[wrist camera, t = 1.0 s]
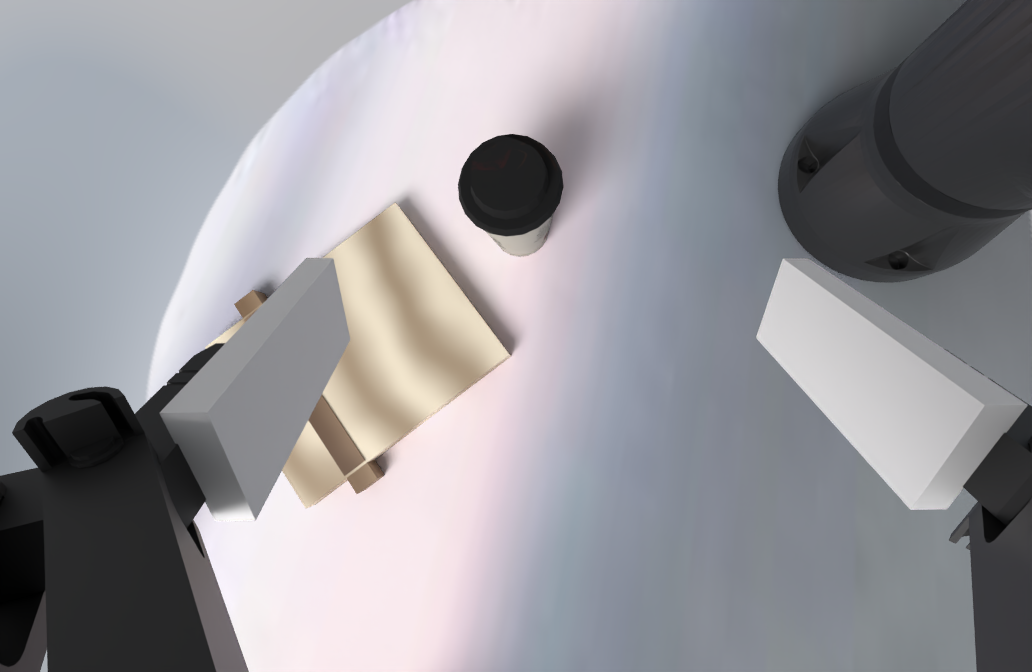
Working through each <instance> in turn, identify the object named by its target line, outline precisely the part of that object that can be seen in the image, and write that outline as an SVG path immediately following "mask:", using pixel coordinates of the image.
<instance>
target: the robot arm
mask: <svg viewBox="0 0 1032 672" xmlns="http://www.w3.org/2000/svg"><path fill="white" fill-rule="evenodd" d="M778 193H779V201H780V205H781V209H782V212H783V215H784V218H785V220H786V223H787V225H788V226H789V228H790V230H791V232H792V233H793V235H794V236H795V238H796V239H797V240H798V242H799V243H800V244H801V245H802V246H803V247H804V248H805V249H806V250H807V251H808V252H809V253H810V254H811V255H812V256H813V257H815V258H816V259H817V260H818V261H820V262H821V263H823V264H824V265H826V266H828V267H829V268H831V269H833V270H835V271H837V272H839V273H842V274H844V275H847V276H850V277H853V278H857V279H861V280H866V281H873V282H900V281H907V280H912V279H916V278H919V277H922V276H925V275H929V274H932V273H935V272H938V271H941V270H944V269H947V268H949V267H952V266H954V265H956V264H958V263H960V262H961V261H963V260H965V259H967V258H968V257H970V256H972V255H973V254H974V253H976V252H977V251H978V250H980V249H981V248H982V247H983V246H985V245H986V244H987V243H988V242H989V241H991V240H992V239H993V238H994V237H996V236H997V235H998V234H999V233H1000V232H1002V231H1003V230H1004V229H1005V228H1007V227H1008V226H1009V225H1010V224H1011V223H1013V222H1014V221H1015V220H1016V219H1018V218H1019V217H1020V216H1021V215H1022V214H1024V213H1025V212H1026V211H1029V210H1031V209H1032V0H967V1H966V2H965V3H964V4H963V5H962V6H961V7H960V8H959V9H958V10H957V11H956V12H955V13H954V14H952V15H951V16H950V17H949V18H948V19H947V20H946V21H945V22H944V23H943V24H942V25H941V26H940V27H939V28H938V29H937V30H936V31H935V32H933V33H932V34H931V35H930V36H929V37H928V38H927V39H926V40H925V41H924V42H923V43H922V44H921V45H920V46H919V47H918V48H916V49H915V51H914V52H913V53H912V54H911V55H910V56H909V57H908V58H906V59H905V60H904V61H903V62H902V63H901V64H900V65H899V66H898V67H896V68H894V69H892V70H890V71H888V72H886V73H884V74H882V75H880V76H878V77H876V78H874V79H872V80H870V81H868V82H866V83H863V84H861V85H859V86H857V87H855V88H853V89H851V90H849V91H847V92H845V93H843V94H841V95H840V96H838V97H836V98H835V99H833V100H832V101H830V102H829V103H828V104H826V105H825V106H824V107H823V108H821V109H820V110H819V111H818V112H817V113H816V114H815V115H814V116H813V117H812V118H811V119H810V120H809V121H808V122H807V123H806V124H805V126H804V127H803V128H802V129H801V130H800V131H799V132H798V133H797V135H796V136H795V137H794V138H793V140H792V142H791V143H790V145H789V147H788V148H787V150H786V152H785V155H784V157H783V160H782V163H781V167H780V172H779V179H778ZM756 338H757V339H758V340H759V342H760V343H761V344H762V345H763V346H764V347H765V348H766V349H767V350H768V352H769V353H770V354H771V355H772V356H773V357H774V358H775V359H776V360H777V362H778V363H779V364H780V365H781V366H782V367H783V368H784V369H785V371H786V372H787V373H788V374H789V375H790V376H791V377H792V378H793V379H794V381H795V382H796V383H797V384H798V385H799V386H800V387H801V388H802V389H803V391H804V392H805V393H806V394H807V395H808V396H809V397H810V398H811V399H812V401H813V402H814V403H815V404H816V405H817V406H818V407H819V408H820V409H821V411H822V412H823V413H824V414H825V415H826V416H827V417H828V418H829V419H830V421H831V422H832V423H833V424H834V425H835V426H836V427H837V428H838V430H839V431H840V432H841V433H842V434H843V435H844V436H845V437H846V438H847V440H848V441H849V442H850V443H851V444H852V445H853V446H854V447H855V448H856V450H857V451H858V452H859V453H860V454H861V455H862V456H863V457H864V458H865V460H866V461H867V462H868V463H869V464H870V465H871V466H872V467H873V468H874V470H875V471H876V472H877V473H878V474H879V475H880V476H881V477H882V478H883V480H884V481H885V482H886V483H887V484H888V485H889V486H890V487H891V489H892V490H893V491H894V492H895V493H896V494H897V495H898V496H899V497H900V499H901V500H902V501H903V502H904V503H905V504H906V505H907V506H908V507H909V509H910V510H930V509H948V507H949V506H950V505H951V504H952V502H953V501H954V500H955V498H956V497H957V496H958V495H959V493H960V492H961V491H962V489H963V488H965V489H966V490H967V491H968V492H969V493H970V494H971V495H972V496H973V497H974V498H975V499H976V500H978V502H977V503H976V504H975V506H974V507H973V508H972V509H971V511H970V512H969V513H968V514H967V515H966V517H965V518H964V519H963V520H962V522H961V523H960V524H959V525H958V526H957V528H956V529H955V530H954V531H953V533H952V534H951V536H950V539H949V541H951V542H953V543H957V541H958V540H959V539H960V538H961V537H963V536H970V543H969V544H968V545H967V547H966V548H967V549H969V550H970V554H971V572H972V590H973V609H974V627H975V646H976V664H977V672H1032V406H1030V405H1029V404H1027V403H1026V402H1024V401H1023V400H1021V399H1020V398H1018V397H1017V396H1015V395H1013V394H1012V393H1010V392H1009V391H1007V390H1006V389H1004V388H1003V387H1001V386H1000V385H998V384H997V383H995V382H994V381H992V380H991V379H989V378H987V377H985V376H984V375H983V374H982V373H980V372H979V371H977V370H976V369H974V368H973V367H971V366H969V365H967V363H965V362H964V361H962V360H961V359H959V358H958V357H956V356H955V355H953V354H952V353H950V352H949V351H947V350H945V349H943V348H942V347H940V346H939V345H937V344H936V343H934V342H933V341H931V340H930V339H928V338H927V337H925V336H924V335H922V334H921V333H919V332H918V331H916V330H915V329H913V328H912V327H910V326H909V325H907V324H906V323H904V322H903V321H901V320H900V319H898V318H897V317H895V316H894V315H892V314H891V313H889V312H888V311H886V310H885V309H883V308H882V307H880V306H879V305H877V304H876V303H874V302H873V301H871V300H870V299H868V298H867V297H865V296H864V295H862V294H861V293H859V292H858V291H856V290H855V289H853V288H852V287H850V286H849V285H847V284H846V283H844V282H843V281H841V280H840V279H838V278H837V277H835V276H834V275H832V274H831V273H829V272H828V271H826V270H825V269H823V268H822V267H820V266H819V265H817V264H816V263H814V262H813V261H811V260H810V259H783V260H782V263H781V266H780V269H779V272H778V275H777V278H776V281H775V283H774V286H773V289H772V292H771V295H770V298H769V301H768V304H767V307H766V310H765V313H764V316H763V319H762V322H761V325H760V328H759V331H758V334H757V337H756ZM349 341H350V335H349V330H348V326H347V321H346V316H345V311H344V307H343V302H342V297H341V292H340V287H339V283H338V278H337V273H336V268H335V263H334V259H333V258H306V259H305V260H304V261H303V262H302V263H301V264H300V265H299V266H298V267H297V268H296V270H295V271H294V272H293V273H292V274H291V275H290V276H289V277H288V278H287V279H286V280H285V281H284V282H283V283H282V284H281V285H280V286H279V287H278V288H277V290H276V291H275V292H274V293H273V294H272V295H271V296H270V297H269V298H268V299H267V300H266V301H265V302H264V303H263V304H262V305H261V306H260V307H259V308H258V310H257V311H256V312H255V313H254V314H253V315H252V316H251V317H250V318H249V319H248V320H247V321H246V322H245V323H244V324H243V325H242V326H241V327H240V328H239V330H238V331H237V332H236V333H235V334H234V335H233V336H232V337H231V338H230V339H229V340H228V341H227V342H226V343H215V344H214V345H212V346H210V347H208V348H207V349H205V350H203V351H201V352H200V353H198V354H196V355H194V356H193V357H192V358H191V359H190V360H189V361H188V362H187V363H186V364H185V365H184V366H183V367H182V368H181V369H180V370H179V373H176V374H175V375H174V376H173V377H172V378H171V379H170V380H169V381H168V382H167V386H163V387H162V388H161V389H160V390H159V391H158V392H157V393H156V394H155V395H154V396H153V397H152V398H151V399H150V400H149V401H148V402H147V403H146V404H145V405H144V406H143V407H142V408H140V409H139V410H138V411H137V412H136V413H135V414H134V412H133V411H132V409H131V407H130V405H129V403H128V402H127V400H126V398H125V396H124V395H123V394H122V393H121V391H119V389H115V388H110V387H94V388H87V389H82V390H78V391H74V392H70V393H67V394H64V395H62V396H59V397H57V398H54V399H52V400H49V401H47V402H45V403H44V404H42V405H40V406H38V407H37V408H35V409H33V410H31V411H30V412H29V413H27V414H26V415H25V416H24V417H23V418H22V419H21V420H19V421H18V422H17V424H16V426H15V428H14V430H13V432H12V433H13V435H14V436H15V438H16V439H17V440H18V442H19V443H20V444H21V445H22V447H23V448H24V449H25V450H26V452H27V453H28V455H29V456H30V457H31V459H32V460H33V461H34V462H35V464H36V465H37V466H38V468H35V469H30V470H25V471H21V472H16V473H11V474H7V475H3V476H0V672H40V670H41V666H42V663H43V660H44V656H45V653H46V650H47V658H48V672H249V671H248V668H247V666H246V663H245V660H244V657H243V654H242V651H241V648H240V646H239V643H238V640H237V637H236V634H235V631H234V628H233V626H232V623H231V620H230V617H229V614H228V611H227V608H226V606H225V603H224V600H223V597H222V594H221V591H220V588H219V586H218V583H217V580H216V577H215V574H214V571H213V568H212V566H211V563H210V560H209V557H208V554H207V551H206V548H205V546H204V543H203V540H202V537H201V534H200V531H199V529H198V527H197V525H196V524H195V522H194V520H193V519H194V517H195V516H196V514H197V513H198V511H199V510H200V508H201V507H202V505H203V504H204V502H206V504H207V506H208V508H209V510H210V512H211V514H212V516H213V518H214V520H215V521H255V520H256V519H257V517H258V515H259V513H260V511H261V509H262V507H263V505H264V503H265V501H266V500H267V498H268V496H269V494H270V492H271V490H272V488H273V486H274V484H275V482H276V480H277V479H278V477H279V475H280V473H281V471H282V469H283V467H284V465H285V463H286V461H287V460H288V458H289V456H290V454H291V452H292V450H293V448H294V446H295V444H296V442H297V440H298V439H299V437H300V435H301V433H302V431H303V429H304V427H305V425H306V423H307V421H308V420H309V418H310V416H311V414H312V412H313V410H314V408H315V406H316V404H317V402H318V400H319V399H320V397H321V395H322V393H323V391H324V389H325V387H326V385H327V383H328V381H329V380H330V378H331V376H332V374H333V372H334V370H335V368H336V366H337V364H338V362H339V360H340V359H341V357H342V355H343V353H344V351H345V349H346V347H347V345H348V343H349Z"/></svg>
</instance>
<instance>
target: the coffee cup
mask: <svg viewBox="0 0 1032 672" xmlns="http://www.w3.org/2000/svg"><path fill="white" fill-rule="evenodd" d="M458 190H459V200H460V203H461V205H462V207H463V210H464V212H465V214H466V215H467V216H468V217H469V219H470V220H471V221H472V222H473V223H474V224H475V225H476V226H477V227H479V228H481V229H483V230H485V231H486V232H487V234H488V235H489V236H490V237H491V238H492V239H493V240H494V241H495V242H496V243H497V244H498V245H499V247H500V248H501V249H502V250H503V251H505V252H506V253H508V254H510V255H513V256H519V257H520V256H528V255H530V254H533V253H535V252H536V251H537V250H539V249H540V248H541V247H542V246H543V244H544V242H545V241H546V239H547V235H548V232H549V228H550V224H551V220H552V217H553V213H554V211H555V209H556V208H557V206H558V204H559V203H560V199H561V194H562V190H563V179H562V171H561V169H560V166H559V164H558V162H557V160H556V158H555V156H554V155H553V154H552V153H551V152H550V151H549V150H548V149H547V148H546V147H545V146H544V145H543V144H541V143H539V142H537V141H535V140H534V139H532V138H530V137H528V136H522V135H515V134H509V135H501V136H496V137H494V138H492V139H490V140H488V141H485V142H483V143H482V144H481V145H480V146H479V147H477V148H476V149H475V150H474V151H473V152H472V153H471V154H470V156H469V158H468V159H467V161H466V162H465V164H464V166H463V168H462V171H461V175H460V179H459V183H458Z"/></svg>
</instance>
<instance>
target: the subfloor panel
mask: <svg viewBox="0 0 1032 672" xmlns="http://www.w3.org/2000/svg"><path fill="white" fill-rule="evenodd" d="M323 258H333V259H334V263H335V268H336V273H337V278H338V283H339V287H340V292H341V297H342V302H343V307H344V311H345V316H346V321H347V326H348V330H349V335H350V341H349V343H348V345H347V347H346V349H345V351H344V353H343V355H342V357H341V359H340V360H339V362H338V364H337V366H336V368H335V370H334V372H333V374H332V376H331V378H330V380H329V381H328V383H327V385H326V387H325V389H324V391H323V393H322V395H321V397H320V399H319V400H318V402H317V404H316V406H315V408H314V410H313V412H312V414H311V416H310V418H309V420H308V421H307V423H306V425H305V427H304V429H303V431H302V433H301V435H300V437H299V439H298V440H297V442H296V444H295V446H294V448H293V450H292V452H291V454H290V456H289V458H288V460H287V461H286V463H285V465H284V467H283V469H282V471H283V473H284V474H285V476H286V478H287V479H288V481H289V482H290V484H291V486H292V487H293V489H294V490H295V492H296V494H297V495H298V497H299V498H300V500H301V502H302V503H303V505H304V506H305V508H309V507H311V506H313V505H315V504H317V503H318V502H319V501H321V500H322V499H323V498H325V497H326V496H327V495H329V494H330V493H331V492H333V491H334V490H335V489H337V488H338V487H339V486H340V485H342V484H343V483H344V482H346V481H347V480H348V481H349V483H350V484H351V486H352V487H353V489H354V490H355V492H356V493H357V494H358V493H360V492H362V491H364V490H366V489H367V488H368V487H370V486H371V485H372V484H374V483H375V482H376V481H378V480H379V479H380V478H381V477H383V476H384V473H383V472H382V470H381V469H380V467H379V466H378V464H377V463H376V461H375V459H376V458H377V457H379V456H380V455H381V454H383V453H384V452H385V451H387V450H388V449H389V448H391V447H392V446H393V445H395V444H396V443H397V442H399V441H400V440H401V439H403V438H404V437H405V436H406V435H408V434H409V433H410V432H412V431H413V430H414V429H416V428H417V427H418V426H420V425H421V424H422V423H424V422H425V421H426V420H428V419H429V418H430V417H432V416H433V415H434V414H436V413H437V412H438V411H439V410H441V409H442V408H443V407H445V406H446V405H447V404H449V403H450V402H451V401H453V400H454V399H455V398H457V397H458V396H459V395H461V394H462V393H463V392H465V391H466V390H467V389H468V388H470V387H471V386H472V385H474V384H475V383H476V382H478V381H479V380H480V379H482V378H483V377H484V376H486V375H487V374H488V373H490V372H491V371H492V370H494V369H495V368H496V367H498V366H499V365H500V364H501V363H503V362H504V361H505V360H507V359H508V358H509V357H511V355H510V354H509V352H508V351H507V350H506V348H505V347H504V346H503V344H502V343H501V342H500V340H499V339H498V338H497V336H496V335H495V334H494V332H493V331H492V330H491V328H490V327H489V326H488V324H487V323H486V322H485V320H484V319H483V318H482V316H481V315H480V314H479V312H478V311H477V310H476V308H475V307H474V306H473V304H472V303H471V302H470V300H469V299H468V298H467V296H466V295H465V294H464V292H463V291H462V290H461V288H460V287H459V286H458V284H457V283H456V282H455V280H454V279H453V278H452V276H451V275H450V274H449V272H448V271H447V270H446V268H445V267H444V266H443V264H442V263H441V262H440V260H439V259H438V258H437V256H436V255H435V254H434V252H433V251H432V250H431V248H430V247H429V246H428V244H427V243H426V242H425V240H424V239H423V238H422V236H421V235H420V234H419V232H418V231H417V230H416V228H415V227H414V225H413V224H412V223H411V221H410V220H409V219H408V217H407V216H406V215H405V213H404V212H403V211H402V209H401V208H400V207H399V206H398V205H397V204H396V203H394V204H393V205H391V206H390V207H389V208H387V209H386V210H385V211H383V212H382V213H381V214H380V215H378V216H377V217H376V218H374V219H373V220H372V221H370V222H369V223H368V224H366V225H365V226H364V227H362V228H361V229H360V230H358V231H357V232H356V233H355V234H353V235H352V236H351V237H349V238H348V239H347V240H345V241H344V242H343V243H341V244H340V245H339V246H337V247H336V248H335V249H334V250H332V251H331V252H330V253H328V254H327V255H326V256H324V257H323ZM267 299H268V298H267V297H266V295H265V294H264V293H261V292H258V291H255V290H252V291H251V292H250V293H248V294H247V295H246V296H244V297H243V298H242V299H240V300H239V301H238V302H237V303H235V304H234V305H235V306H236V308H237V309H238V311H239V313H240V314H241V316H242V317H243V319H242V320H240V321H239V322H238V323H236V324H235V325H234V326H232V327H231V328H230V329H228V330H227V331H226V332H224V333H223V334H222V335H221V336H219V337H218V338H217V339H215V340H214V341H213V342H211V343H210V344H209V345H207V346H206V349H207V348H208V347H210V346H212V345H214V344H215V343H226V342H227V341H228V340H229V339H230V338H231V337H232V336H233V335H234V334H235V333H236V332H237V331H238V330H239V328H240V327H241V326H242V325H243V324H244V323H245V322H246V321H247V320H248V319H249V318H250V317H251V316H252V315H253V314H254V313H255V312H256V311H257V310H258V308H259V307H260V306H261V305H262V304H263V303H264V302H265V301H266V300H267Z"/></svg>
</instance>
